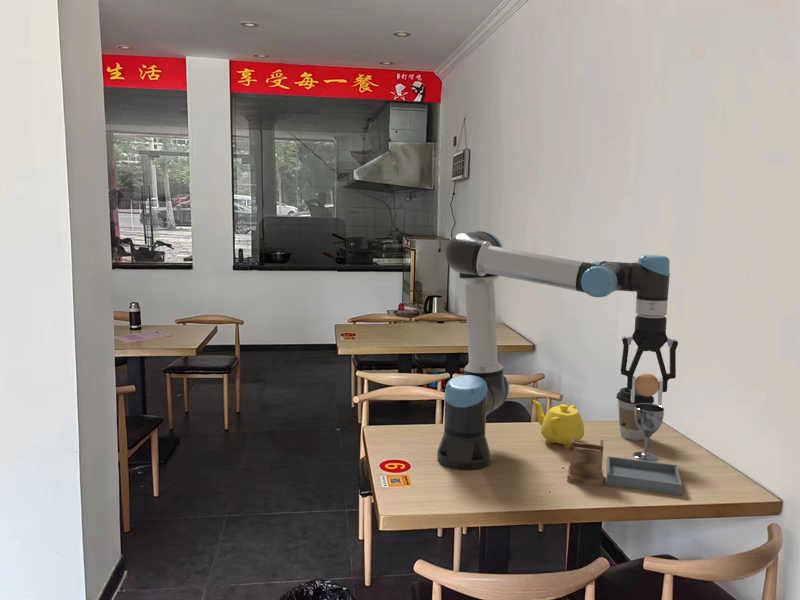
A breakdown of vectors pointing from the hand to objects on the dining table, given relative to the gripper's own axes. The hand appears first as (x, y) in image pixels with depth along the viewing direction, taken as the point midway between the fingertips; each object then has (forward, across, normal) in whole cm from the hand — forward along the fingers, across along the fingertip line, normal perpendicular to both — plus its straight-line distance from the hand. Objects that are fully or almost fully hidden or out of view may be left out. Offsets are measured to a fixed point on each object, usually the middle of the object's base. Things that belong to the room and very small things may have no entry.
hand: (645, 402), depth 163 cm
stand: (+21, -14, -4) cm, 26 cm away
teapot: (+21, -24, +22) cm, 39 cm away
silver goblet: (+22, +2, +18) cm, 29 cm away
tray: (+22, 0, +1) cm, 22 cm away
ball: (-2, 0, 0) cm, 2 cm away
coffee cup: (+22, -1, +34) cm, 41 cm away
